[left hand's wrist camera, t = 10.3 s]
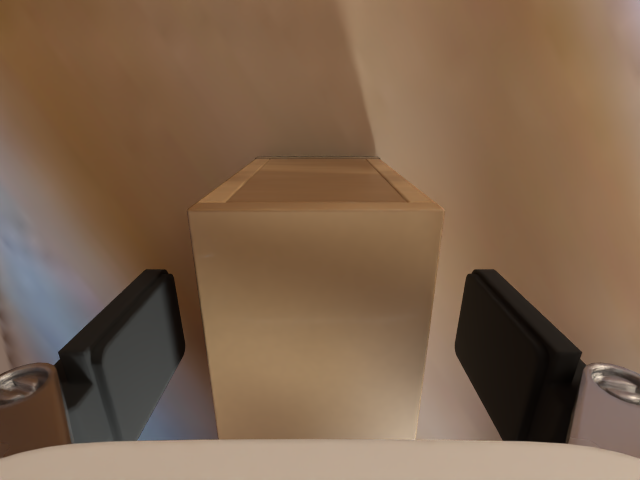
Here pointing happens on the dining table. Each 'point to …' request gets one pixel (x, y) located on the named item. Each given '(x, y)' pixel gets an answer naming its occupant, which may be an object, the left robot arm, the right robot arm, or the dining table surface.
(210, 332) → the wooden crate box
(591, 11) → the dining table surface
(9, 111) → the dining table surface
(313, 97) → the dining table surface
